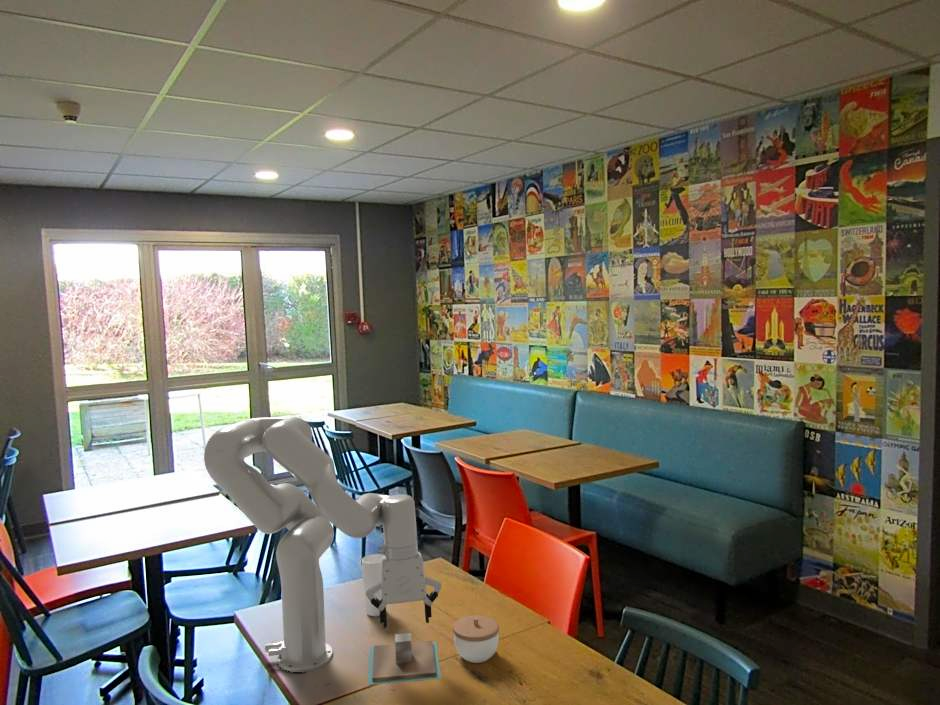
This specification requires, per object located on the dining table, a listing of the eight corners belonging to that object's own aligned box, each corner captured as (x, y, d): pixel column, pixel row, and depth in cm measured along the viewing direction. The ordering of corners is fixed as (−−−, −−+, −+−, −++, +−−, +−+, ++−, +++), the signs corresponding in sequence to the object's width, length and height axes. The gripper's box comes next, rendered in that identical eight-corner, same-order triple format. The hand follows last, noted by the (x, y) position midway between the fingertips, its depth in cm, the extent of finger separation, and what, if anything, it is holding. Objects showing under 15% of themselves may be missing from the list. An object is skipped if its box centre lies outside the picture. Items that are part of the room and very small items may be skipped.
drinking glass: (372, 621, 171) (370, 565, 170) (358, 612, 176) (356, 558, 175) (393, 612, 175) (391, 558, 174) (379, 604, 181) (378, 552, 180)
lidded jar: (473, 641, 159) (472, 604, 159) (508, 655, 153) (508, 616, 152) (444, 660, 151) (443, 621, 150) (480, 675, 144) (479, 634, 144)
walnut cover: (372, 681, 142) (371, 656, 142) (374, 648, 156) (373, 625, 156) (436, 675, 144) (435, 650, 143) (432, 643, 158) (431, 620, 157)
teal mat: (367, 686, 141) (367, 684, 141) (370, 649, 157) (370, 647, 157) (441, 680, 143) (440, 678, 143) (436, 643, 159) (436, 641, 159)
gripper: (362, 560, 143) (367, 635, 144) (440, 552, 145) (445, 626, 146) (363, 548, 151) (369, 619, 152) (437, 540, 153) (442, 611, 154)
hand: (406, 622), depth 149 cm, fingers open, 9 cm apart
